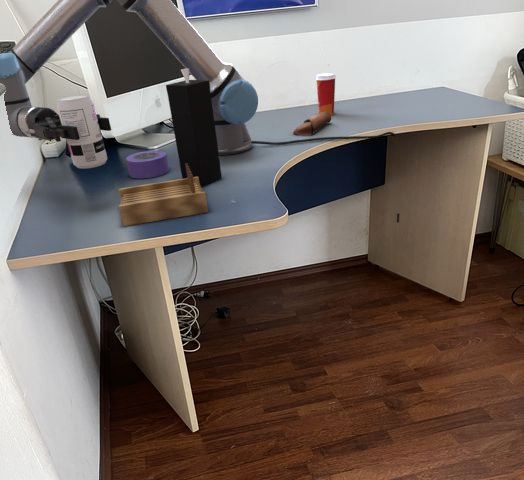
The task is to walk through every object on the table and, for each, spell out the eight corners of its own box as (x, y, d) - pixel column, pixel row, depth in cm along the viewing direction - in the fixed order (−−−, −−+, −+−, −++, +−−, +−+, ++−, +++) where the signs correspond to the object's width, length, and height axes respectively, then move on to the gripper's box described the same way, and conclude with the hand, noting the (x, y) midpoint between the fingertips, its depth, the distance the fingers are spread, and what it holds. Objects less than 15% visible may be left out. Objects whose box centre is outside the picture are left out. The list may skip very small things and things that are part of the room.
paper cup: (326, 111, 209) (325, 72, 201) (340, 113, 203) (340, 73, 196) (312, 115, 205) (310, 75, 197) (326, 117, 200) (325, 76, 192)
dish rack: (201, 194, 136) (195, 160, 131) (208, 212, 124) (202, 174, 120) (123, 207, 133) (114, 172, 128) (123, 226, 122) (114, 188, 117)
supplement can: (68, 166, 129) (48, 100, 120) (98, 158, 133) (81, 93, 125) (84, 171, 124) (64, 102, 115) (114, 162, 128) (97, 94, 120)
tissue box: (202, 175, 151) (185, 65, 135) (222, 178, 146) (207, 65, 130) (182, 183, 146) (162, 70, 130) (202, 187, 141) (184, 70, 126)
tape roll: (176, 167, 160) (173, 150, 157) (155, 179, 151) (152, 161, 149) (143, 166, 164) (140, 150, 162) (122, 178, 156) (117, 161, 153)
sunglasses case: (309, 121, 194) (317, 104, 190) (325, 131, 194) (334, 115, 189) (291, 133, 181) (299, 115, 176) (308, 144, 181) (316, 127, 176)
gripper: (79, 129, 142) (132, 135, 129) (8, 149, 129) (58, 157, 117) (71, 99, 138) (125, 101, 125) (-4, 116, 125) (47, 121, 112)
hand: (93, 128), depth 121 cm, fingers closed on supplement can, 8 cm apart
